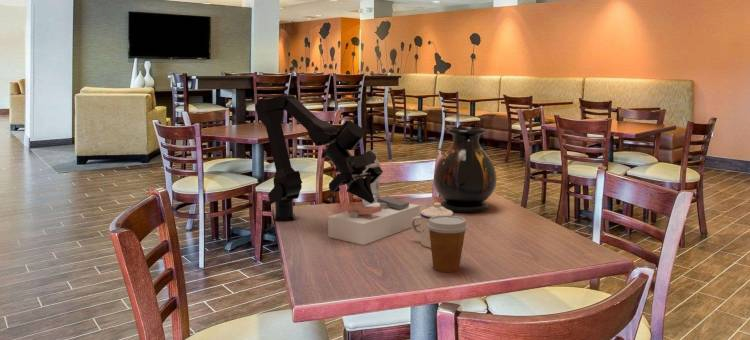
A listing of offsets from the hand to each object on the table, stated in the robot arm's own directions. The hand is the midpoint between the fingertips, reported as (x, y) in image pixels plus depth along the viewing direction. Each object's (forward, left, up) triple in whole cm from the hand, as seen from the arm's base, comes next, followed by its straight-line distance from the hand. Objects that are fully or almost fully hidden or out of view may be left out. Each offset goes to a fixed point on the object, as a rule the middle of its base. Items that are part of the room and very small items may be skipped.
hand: (372, 202), depth 161 cm
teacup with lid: (+7, +15, -11) cm, 20 cm away
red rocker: (-2, -2, -3) cm, 4 cm away
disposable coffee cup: (+27, +14, -11) cm, 33 cm away
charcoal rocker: (-12, +8, -4) cm, 15 cm away
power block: (-8, +2, -10) cm, 13 cm away
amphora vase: (-33, +36, -11) cm, 50 cm away
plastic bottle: (-38, +4, -11) cm, 39 cm away
